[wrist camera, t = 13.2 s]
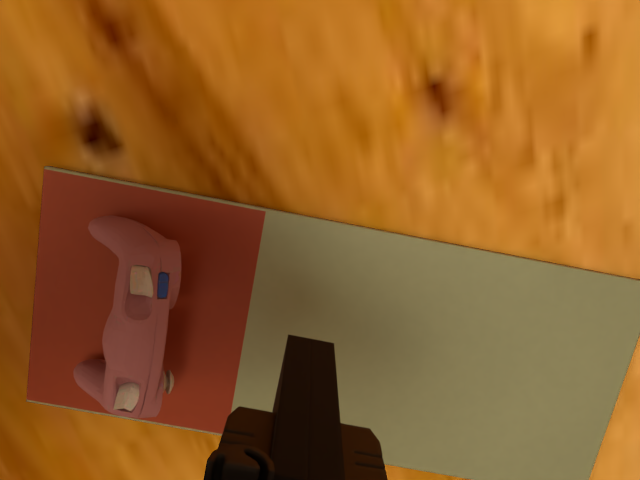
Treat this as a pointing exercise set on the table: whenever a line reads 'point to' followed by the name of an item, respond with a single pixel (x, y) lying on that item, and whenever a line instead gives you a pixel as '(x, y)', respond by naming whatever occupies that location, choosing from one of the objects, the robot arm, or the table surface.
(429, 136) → the table surface
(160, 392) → the video game controller
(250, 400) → the placemat
